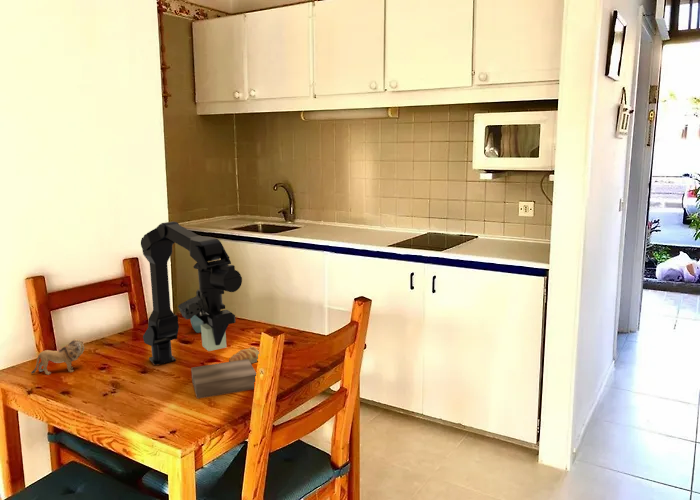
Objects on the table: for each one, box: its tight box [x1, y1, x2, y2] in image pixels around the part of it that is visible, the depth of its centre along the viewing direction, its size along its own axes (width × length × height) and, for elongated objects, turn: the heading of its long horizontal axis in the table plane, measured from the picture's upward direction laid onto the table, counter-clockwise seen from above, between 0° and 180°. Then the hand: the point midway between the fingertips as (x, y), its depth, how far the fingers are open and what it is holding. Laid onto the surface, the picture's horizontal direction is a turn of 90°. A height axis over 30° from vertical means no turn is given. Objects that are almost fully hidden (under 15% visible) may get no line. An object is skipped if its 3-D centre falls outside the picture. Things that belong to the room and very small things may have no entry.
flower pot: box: [189, 315, 203, 334], centre depth 206 cm, size 9×9×9 cm
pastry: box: [228, 346, 260, 364], centre depth 177 cm, size 9×7×4 cm
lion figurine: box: [30, 338, 85, 376], centre depth 172 cm, size 15×5×9 cm, turn 112°
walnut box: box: [190, 359, 257, 399], centre depth 161 cm, size 12×16×4 cm
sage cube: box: [200, 324, 227, 352], centre depth 158 cm, size 5×5×6 cm
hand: (214, 342), depth 159 cm, fingers closed on sage cube, 5 cm apart
